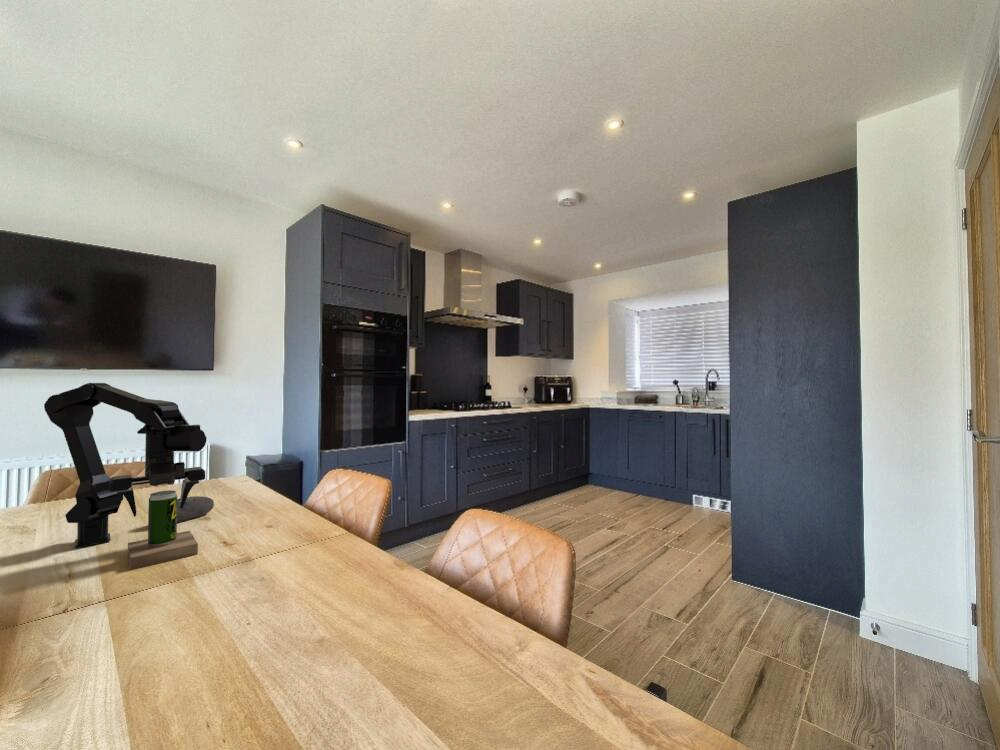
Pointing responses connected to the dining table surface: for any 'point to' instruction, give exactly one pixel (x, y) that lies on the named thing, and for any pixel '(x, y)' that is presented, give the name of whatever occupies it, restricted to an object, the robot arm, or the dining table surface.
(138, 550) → the walnut block
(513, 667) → the dining table surface
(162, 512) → the beer can
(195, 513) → the perforated stone tool
